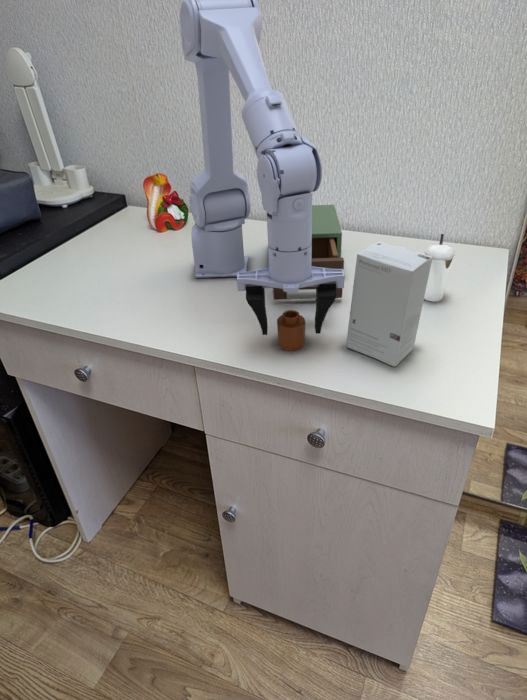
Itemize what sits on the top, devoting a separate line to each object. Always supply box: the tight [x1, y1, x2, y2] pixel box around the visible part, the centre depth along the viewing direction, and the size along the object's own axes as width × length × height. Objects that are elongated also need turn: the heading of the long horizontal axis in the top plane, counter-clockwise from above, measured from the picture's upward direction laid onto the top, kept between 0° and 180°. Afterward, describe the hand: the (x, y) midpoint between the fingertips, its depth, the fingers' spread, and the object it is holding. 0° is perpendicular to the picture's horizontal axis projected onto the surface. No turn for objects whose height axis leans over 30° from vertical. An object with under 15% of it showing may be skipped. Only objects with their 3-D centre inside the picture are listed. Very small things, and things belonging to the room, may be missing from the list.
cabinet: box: [312, 204, 343, 258], centre depth 94 cm, size 15×13×9 cm
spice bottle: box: [276, 309, 306, 352], centre depth 72 cm, size 4×4×5 cm
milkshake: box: [424, 232, 456, 303], centre depth 80 cm, size 4×5×10 cm
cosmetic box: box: [346, 240, 432, 367], centre depth 67 cm, size 8×6×15 cm
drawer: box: [272, 237, 345, 301], centre depth 83 cm, size 20×11×7 cm, turn 179°
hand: (291, 330), depth 72 cm, fingers open, 7 cm apart
